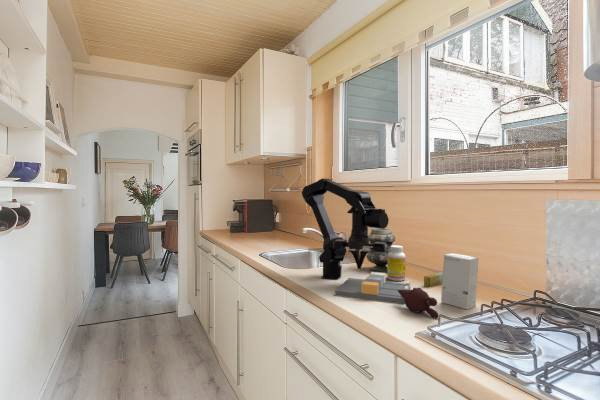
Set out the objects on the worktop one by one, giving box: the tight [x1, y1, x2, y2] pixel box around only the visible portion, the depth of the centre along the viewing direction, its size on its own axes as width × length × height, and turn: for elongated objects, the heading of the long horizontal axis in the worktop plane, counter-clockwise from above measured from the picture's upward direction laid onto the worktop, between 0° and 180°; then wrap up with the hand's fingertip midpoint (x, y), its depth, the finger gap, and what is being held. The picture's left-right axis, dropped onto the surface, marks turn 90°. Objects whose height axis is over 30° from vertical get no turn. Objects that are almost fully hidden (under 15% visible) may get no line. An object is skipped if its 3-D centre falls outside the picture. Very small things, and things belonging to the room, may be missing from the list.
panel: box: [334, 277, 411, 305], centre depth 115 cm, size 22×18×3 cm
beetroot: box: [398, 287, 439, 319], centre depth 97 cm, size 7×7×15 cm
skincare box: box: [440, 253, 479, 310], centre depth 102 cm, size 8×6×15 cm
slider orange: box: [361, 281, 379, 295], centre depth 109 cm, size 5×4×3 cm
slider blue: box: [365, 275, 383, 289], centre depth 115 cm, size 5×4×3 cm
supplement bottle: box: [387, 244, 406, 282], centre depth 131 cm, size 7×7×13 cm
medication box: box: [423, 270, 443, 288], centre depth 125 cm, size 12×3×4 cm, turn 126°
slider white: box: [369, 271, 387, 284], centre depth 121 cm, size 5×4×3 cm
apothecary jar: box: [366, 227, 396, 274], centre depth 146 cm, size 12×12×18 cm
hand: (359, 269), depth 124 cm, fingers closed
